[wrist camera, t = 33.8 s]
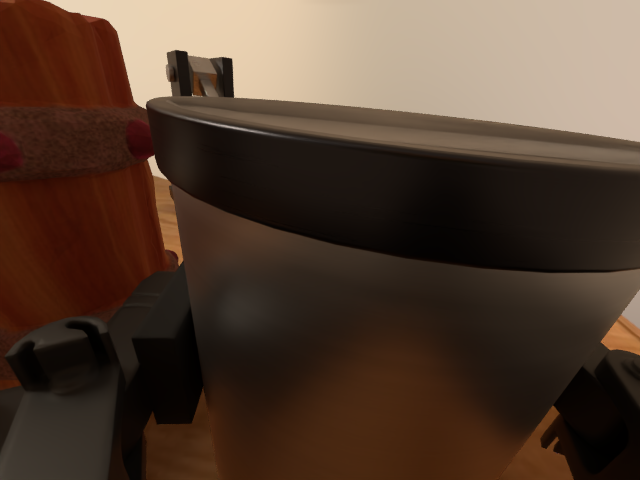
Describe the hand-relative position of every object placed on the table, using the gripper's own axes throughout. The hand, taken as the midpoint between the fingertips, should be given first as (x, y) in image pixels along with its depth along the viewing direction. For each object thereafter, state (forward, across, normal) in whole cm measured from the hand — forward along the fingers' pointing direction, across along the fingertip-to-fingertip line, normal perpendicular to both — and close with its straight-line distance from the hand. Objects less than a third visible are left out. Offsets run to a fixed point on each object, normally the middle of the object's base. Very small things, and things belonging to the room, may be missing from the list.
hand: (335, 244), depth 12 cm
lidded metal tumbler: (-5, 0, -7) cm, 8 cm away
